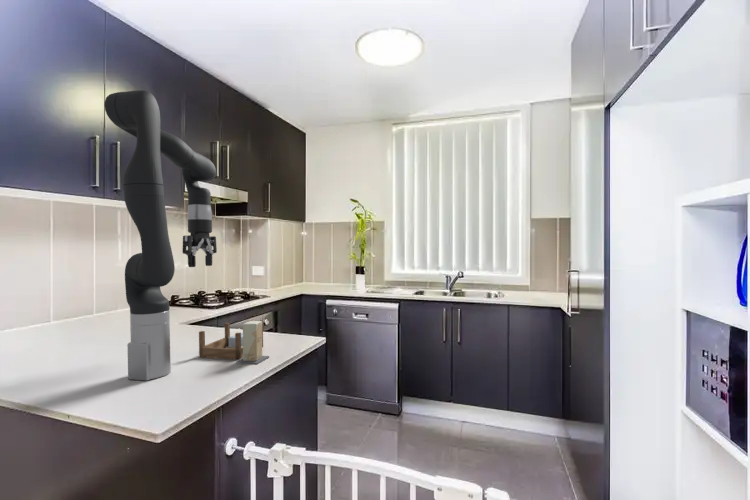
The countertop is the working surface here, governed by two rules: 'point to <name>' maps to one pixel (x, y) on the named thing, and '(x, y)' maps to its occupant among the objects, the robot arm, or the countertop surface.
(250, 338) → the box
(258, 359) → the mat
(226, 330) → the frame
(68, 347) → the countertop surface
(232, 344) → the offcut top
